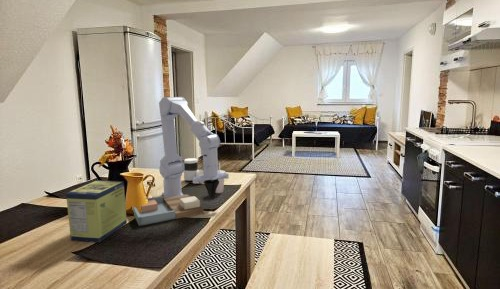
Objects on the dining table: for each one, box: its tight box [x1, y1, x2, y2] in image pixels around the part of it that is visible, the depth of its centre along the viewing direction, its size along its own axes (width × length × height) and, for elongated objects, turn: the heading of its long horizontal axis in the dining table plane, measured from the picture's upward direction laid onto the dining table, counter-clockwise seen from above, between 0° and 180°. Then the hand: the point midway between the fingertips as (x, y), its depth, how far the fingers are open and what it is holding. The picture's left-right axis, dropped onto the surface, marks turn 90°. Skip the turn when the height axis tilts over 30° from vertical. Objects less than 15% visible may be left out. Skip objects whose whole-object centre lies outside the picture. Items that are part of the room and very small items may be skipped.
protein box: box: [65, 179, 128, 243], centre depth 104 cm, size 10×16×16 cm
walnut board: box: [163, 193, 204, 220], centre depth 126 cm, size 20×10×2 cm, turn 28°
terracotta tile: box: [141, 200, 158, 213], centre depth 124 cm, size 6×6×2 cm
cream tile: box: [180, 196, 201, 209], centre depth 123 cm, size 6×6×2 cm
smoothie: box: [215, 162, 226, 194], centre depth 145 cm, size 6×6×14 cm
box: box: [133, 195, 176, 227], centre depth 121 cm, size 20×13×3 cm, turn 28°
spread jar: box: [183, 157, 204, 184], centre depth 164 cm, size 12×11×12 cm
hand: (211, 198), depth 127 cm, fingers closed
